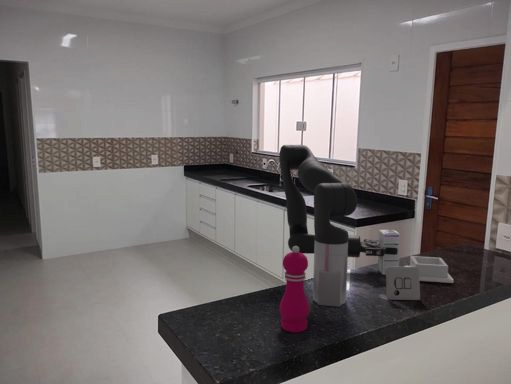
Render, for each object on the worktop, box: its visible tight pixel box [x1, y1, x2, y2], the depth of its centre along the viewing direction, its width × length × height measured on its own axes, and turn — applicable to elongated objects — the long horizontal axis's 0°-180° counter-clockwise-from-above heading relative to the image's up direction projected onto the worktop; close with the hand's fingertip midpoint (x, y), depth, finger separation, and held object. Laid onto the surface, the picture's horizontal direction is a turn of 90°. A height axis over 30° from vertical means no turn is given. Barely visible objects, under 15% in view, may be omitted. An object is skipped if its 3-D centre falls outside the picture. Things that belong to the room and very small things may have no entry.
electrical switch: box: [385, 266, 421, 301], centre depth 120 cm, size 9×5×9 cm, turn 88°
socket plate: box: [404, 255, 454, 284], centre depth 140 cm, size 13×13×5 cm
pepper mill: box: [278, 246, 310, 333], centre depth 100 cm, size 7×7×20 cm
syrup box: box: [377, 229, 401, 276], centre depth 142 cm, size 6×6×14 cm
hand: (395, 248), depth 142 cm, fingers closed on syrup box, 6 cm apart
